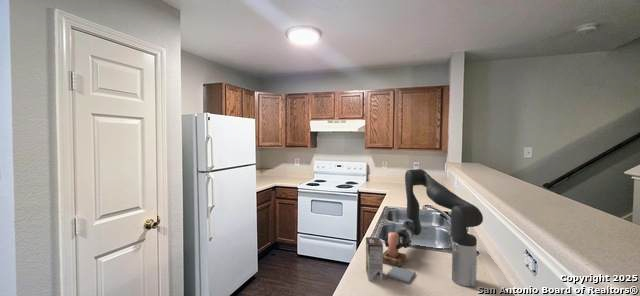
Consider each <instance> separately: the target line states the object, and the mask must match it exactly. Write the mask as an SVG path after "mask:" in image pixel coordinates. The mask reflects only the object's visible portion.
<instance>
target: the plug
mask: <svg viewBox="0 0 640 296" xmlns="http://www.w3.org/2000/svg"><path fill="white" fill-rule="evenodd" d="M387 233H388V234H387V235H388V247H387V250H388V257H391V258H395V259H397V258H398V252H399V249H398V250H397V244H398V237H399V234H398V233H396V232H395V231H394V232H393V231H391V232H390V231H389V232H387Z"/></svg>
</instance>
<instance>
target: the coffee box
mask: <svg viewBox="0 0 640 296" xmlns="http://www.w3.org/2000/svg"><path fill="white" fill-rule="evenodd" d="M383 253H384V245H383V243H382V240H381V238H380V237H370V236H367V237H365V272H366V276H367V279H368V282H369V281H371V282H373V281H374V282H375V281H377V282H382V281H383V278H384V277H383V266H384V265H383V264H384V263H383Z"/></svg>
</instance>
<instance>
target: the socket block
mask: <svg viewBox="0 0 640 296" xmlns="http://www.w3.org/2000/svg"><path fill="white" fill-rule="evenodd" d="M406 261H407V254H406V253H402V252H399V251H398V258H397V259H395V258H391V257H388V249H386V250H385V251H383V264H384V265H388V266H391V267H394V266H395V267H398V268H401V267H402V265H404V263H405V262H406Z"/></svg>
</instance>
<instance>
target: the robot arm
mask: <svg viewBox="0 0 640 296" xmlns="http://www.w3.org/2000/svg"><path fill="white" fill-rule="evenodd" d="M404 182H405V192H406V193H405V195H406V218H407V219H408V220H405V221H404V222H403V224H402V227H401V228H399V229H398V230H397V231H396V232H395V233H398V234H399V237H398V244H397V250H398V251H399V250H401V248H404V249H407V248H409V247H411V246H412V240H411V239H412V238H413V236H419V235H420V234H421V233H422V225H421V222H420V203H419V201H418V199H417V197H416V195H415V193H414V186H423V187H424V188H426V189H425V192H426V196H427V197H428V198H429V199H430V200H431V201H432V202H434V203H435V204H436V205H438V206H440V207H442V208H445V209H448V210H451V211H450V232H451V236H452V246H451V247H452V249H451V250H452V253H451V258H452V259H451V280H452V281H453V282H454V283H455V284H457V285H460V286H463V287H472V288H475V287H476V284H477V269H478V268H477V267H478V266H477V265H478V264H477V263H478V260H477V242H478V239H477V237H476V236H475V235H473V234H471V233H469V232H468V228H474V227H478V226H480V225H482V224H483V222H484V216H483V214H482V212H481V210H480V209H479V208H478V207H477V206H475V205H474V204H473V203H470V202H468V201H467V200H465V199H463V198H461V197H460V196H458V195H456V194H455V193H454V192H453V191H451V190H449V188H447V187H446V186H444V185H443V184H441V183H440V182H438V181H437V180H436V179H434V178H433V177H432V176H430V174H429V173H428V172H426V171H425V170H424V169H420V168H417V169H414V168H413V169H407V170H406V171H405V175H404ZM384 244H385V247H386V248H388V234H386V235H385V237H384Z"/></svg>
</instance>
